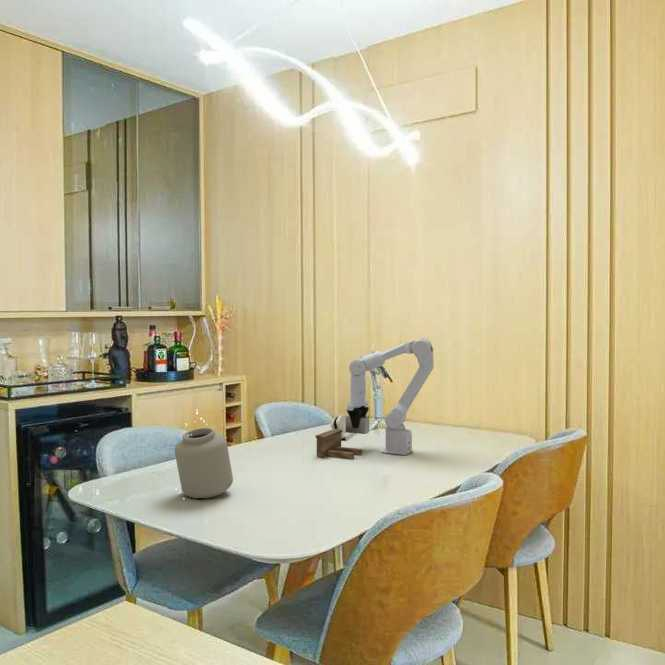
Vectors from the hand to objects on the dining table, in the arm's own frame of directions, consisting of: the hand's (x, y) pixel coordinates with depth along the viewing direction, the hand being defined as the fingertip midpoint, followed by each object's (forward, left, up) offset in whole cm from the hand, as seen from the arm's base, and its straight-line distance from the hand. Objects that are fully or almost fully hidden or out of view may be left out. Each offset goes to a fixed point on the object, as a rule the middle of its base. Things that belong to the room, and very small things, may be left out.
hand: (357, 427), depth 250 cm
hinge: (+16, -20, -9) cm, 28 cm away
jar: (+14, +76, -9) cm, 78 cm away
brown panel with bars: (+2, +11, -9) cm, 14 cm away
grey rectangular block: (0, 0, -2) cm, 2 cm away
